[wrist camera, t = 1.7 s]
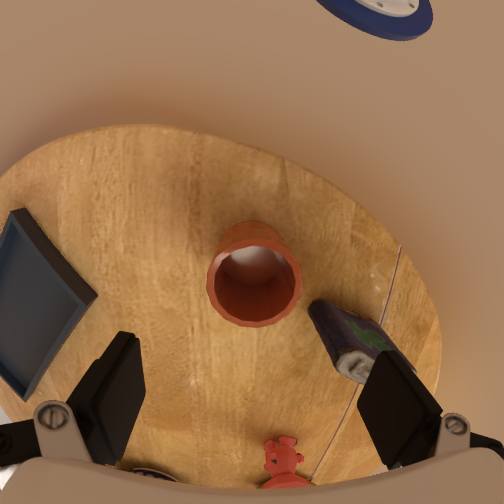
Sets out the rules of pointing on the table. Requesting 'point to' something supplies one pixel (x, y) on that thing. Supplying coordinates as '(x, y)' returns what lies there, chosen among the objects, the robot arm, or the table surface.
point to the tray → (34, 302)
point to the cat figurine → (283, 464)
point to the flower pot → (253, 276)
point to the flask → (350, 339)
